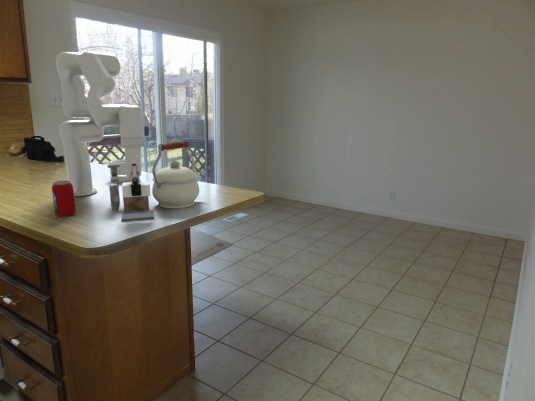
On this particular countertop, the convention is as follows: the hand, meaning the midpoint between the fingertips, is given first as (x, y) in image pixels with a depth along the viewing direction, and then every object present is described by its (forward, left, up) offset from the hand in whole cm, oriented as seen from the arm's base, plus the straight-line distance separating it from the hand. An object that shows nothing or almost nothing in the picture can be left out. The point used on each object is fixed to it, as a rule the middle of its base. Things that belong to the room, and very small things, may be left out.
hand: (136, 193), depth 136 cm
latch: (-7, +19, +1) cm, 20 cm away
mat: (0, 0, -9) cm, 9 cm away
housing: (-3, +14, -9) cm, 17 cm away
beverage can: (-25, +10, -9) cm, 28 cm away
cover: (0, 0, -1) cm, 1 cm away
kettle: (+16, +15, -9) cm, 23 cm away
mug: (-7, +67, -9) cm, 68 cm away
